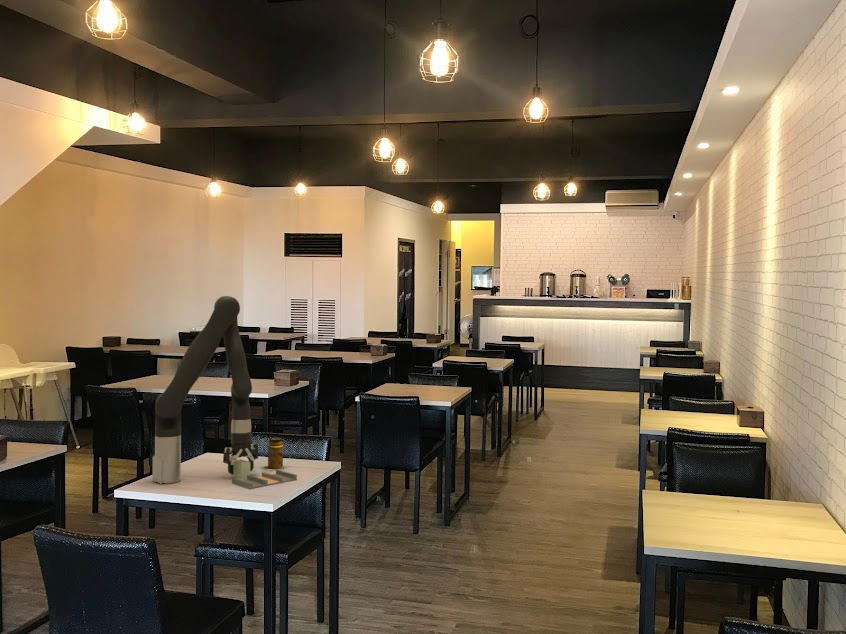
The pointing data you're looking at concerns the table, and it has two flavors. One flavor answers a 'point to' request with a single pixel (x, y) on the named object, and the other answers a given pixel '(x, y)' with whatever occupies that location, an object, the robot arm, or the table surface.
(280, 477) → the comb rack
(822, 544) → the table surface
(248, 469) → the plug
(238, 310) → the robot arm
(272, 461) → the condiment
